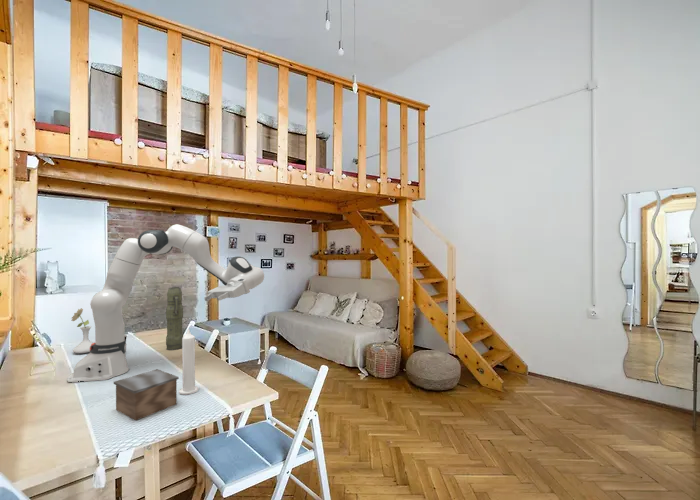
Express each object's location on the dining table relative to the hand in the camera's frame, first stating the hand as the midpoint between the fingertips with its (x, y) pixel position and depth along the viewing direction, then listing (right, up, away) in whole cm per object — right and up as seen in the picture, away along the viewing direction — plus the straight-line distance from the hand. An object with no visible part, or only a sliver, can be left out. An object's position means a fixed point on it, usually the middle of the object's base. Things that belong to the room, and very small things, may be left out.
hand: (211, 299), depth 149 cm
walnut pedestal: (-12, -35, -27) cm, 46 cm away
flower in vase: (-86, -35, +38) cm, 101 cm away
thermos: (-40, -35, +47) cm, 71 cm away
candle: (-4, -35, -13) cm, 38 cm away
